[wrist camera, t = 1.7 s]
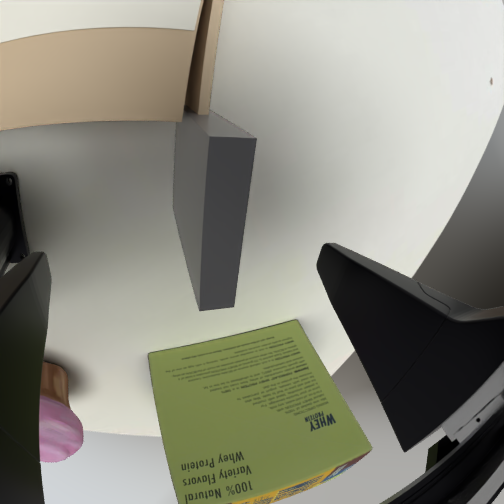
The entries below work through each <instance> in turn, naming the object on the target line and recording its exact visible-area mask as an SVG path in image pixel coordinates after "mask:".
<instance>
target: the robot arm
mask: <svg viewBox="0 0 504 504" xmlns="http://www.w3.org/2000/svg"><path fill="white" fill-rule="evenodd" d="M8 178H10V179H11V180H12V183H9V182H8ZM21 254H24V255H25V257H24V256H22V255H21ZM9 263H18V264H17V265H15V266H14V267H13V268H12V269H11V270H9V271H8V272H7V273H6V274H4V273H5V271H6V269H7V267H8V264H9ZM316 266H317V271H318V273H319V275H320V278H321V280H322V283H323V285H324V287H325V290H326V292H327V295H328V297H329V300H330V302H331V304H332V306H333V308H334V310H335V312H336V314H337V316H338V318H339V320H340V321H341V323H342V325H343V327H344V329H345V331H346V333H347V335H348V337H349V339H350V341H351V343H352V345H353V347H354V349H355V351H356V353H357V354H358V356H359V359H360V361H361V363H362V365H363V367H364V369H365V371H366V373H367V375H368V377H369V378H370V381H371V383H372V385H373V387H374V389H375V391H376V393H377V395H378V397H379V399H380V402H381V404H382V406H383V408H384V410H385V412H386V415H387V417H388V419H389V421H390V423H391V425H392V428H393V430H394V432H395V434H396V436H397V439H398V441H399V443H400V445H401V448H402V450H403V451H404V452H407V451H408V450H410V449H411V448H413V447H414V446H416V445H417V444H419V443H420V442H422V441H423V440H425V439H426V438H427V437H429V436H430V435H431V434H433V433H434V432H436V431H437V430H438V429H439V428H441V427H442V428H443V430H444V431H445V433H446V434H447V435H446V436H444V437H443V438H442V439H441V440H439V441H438V442H437V443H436V444H434V445H433V446H432V447H430V448H429V449H428V456H427V464H426V471H425V473H424V474H423V475H422V476H420V477H419V478H417V479H416V480H415V481H413V482H412V483H411V484H409V485H408V486H406V487H405V488H404V489H402V490H400V491H399V492H397V493H396V494H394V495H393V496H392V497H390V498H388V499H387V500H385V501H383V502H382V503H380V504H491V503H492V502H493V501H494V500H495V498H496V497H497V496H498V494H499V493H500V492H501V490H502V489H503V488H504V306H503V307H497V308H492V309H478V308H474V307H471V306H469V305H467V304H465V303H463V302H461V301H458V300H456V299H454V298H452V297H449V296H447V295H445V294H443V293H441V292H438V291H436V290H434V289H432V288H430V287H428V286H426V285H424V284H422V283H420V282H417V281H415V280H413V279H411V278H409V277H407V276H405V275H403V274H401V273H399V272H397V271H395V270H393V269H391V268H388V267H386V266H384V265H382V264H380V263H378V262H376V261H373V260H371V259H369V258H367V257H365V256H363V255H360V254H358V253H356V252H354V251H352V250H349V249H347V248H345V247H343V246H341V245H338V244H336V243H325V244H324V245H323V246H322V249H321V251H320V254H319V257H318V260H317V265H316ZM50 291H51V273H50V269H49V265H48V260H47V256H46V253H45V252H32V253H31V254H30V253H29V248H28V244H27V239H26V234H25V229H24V223H23V218H22V211H21V205H20V198H19V190H18V181H17V176H16V175H15V173H13V172H6V173H0V504H45V502H44V494H43V486H42V476H41V464H40V463H39V462H40V444H39V411H40V390H41V377H42V366H43V357H44V349H45V342H46V335H47V328H48V315H49V302H50Z"/></svg>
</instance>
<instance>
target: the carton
mask: <svg viewBox="0 0 504 504" xmlns="http://www.w3.org/2000/svg"><path fill="white" fill-rule="evenodd" d="M203 1H204V0H0V131H2V130H8V129H15V128H22V127H30V126H39V125H48V124H59V123H73V122H91V121H171V122H182V117H183V110H184V103H185V96H186V89H187V83H188V77H189V71H190V65H191V59H192V54H193V48H194V43H195V38H196V33H197V28H198V23H199V19H200V14H201V9H202V5H203Z"/></svg>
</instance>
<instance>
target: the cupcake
mask: <svg viewBox="0 0 504 504" xmlns="http://www.w3.org/2000/svg"><path fill="white" fill-rule="evenodd" d="M39 444H40V461H43V462H59V461H62V460H65V459H66V458H67V457H70V456H71V455H73V454H74V453H75V452H76V451H78V450H79V449H80V447H81V446H82V444H83V426H82V423H81V422H80V420H79V418H78V417H77V416H76V415H75V414H74V413H73V411H72V410H71V408H70V405H69V400H68V376H67V373H66V372H65V371H64V370H63V369H62V368H61V367H60V366H58V365H55V364H50V363H47V362H43V366H42V377H41V390H40V411H39Z"/></svg>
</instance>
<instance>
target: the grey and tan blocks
mask: <svg viewBox="0 0 504 504" xmlns="http://www.w3.org/2000/svg"><path fill="white" fill-rule="evenodd" d="M223 3H224V0H204V1H203V5H202V9H201V14H200V19H199V23H198V28H197V33H196V38H195V43H194V48H193V54H192V59H191V65H190V71H189V77H188V83H187V89H186V96H185V103H184V110H183V117H182V122H176V136H175V154H174V179H173V211H174V215H175V219H176V224H177V228H178V232H179V236H180V240H181V244H182V248H183V252H184V256H185V260H186V264H187V268H188V272H189V276H190V279H191V283H192V287H193V290H194V294H195V298H196V301H197V305H198V308H199V311H205V310H214V309H222V308H230V307H234V304H235V296H236V288H237V281H238V273H239V265H240V258H241V250H242V242H243V235H244V227H245V220H246V213H247V205H248V198H249V191H250V183H251V176H252V169H253V162H254V155H255V147H256V140H257V138H255V137H254V136H252V135H251V134H249V133H247V132H246V131H244V130H243V129H241V128H239V127H238V126H236V125H234V124H233V123H231V122H230V121H228V120H226V119H225V118H223V117H221V116H219V115H218V114H216V113H214V112H213V111H211V110H209V107H210V98H211V89H212V81H213V72H214V65H215V57H216V50H217V42H218V35H219V29H220V22H221V16H222V9H223Z"/></svg>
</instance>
